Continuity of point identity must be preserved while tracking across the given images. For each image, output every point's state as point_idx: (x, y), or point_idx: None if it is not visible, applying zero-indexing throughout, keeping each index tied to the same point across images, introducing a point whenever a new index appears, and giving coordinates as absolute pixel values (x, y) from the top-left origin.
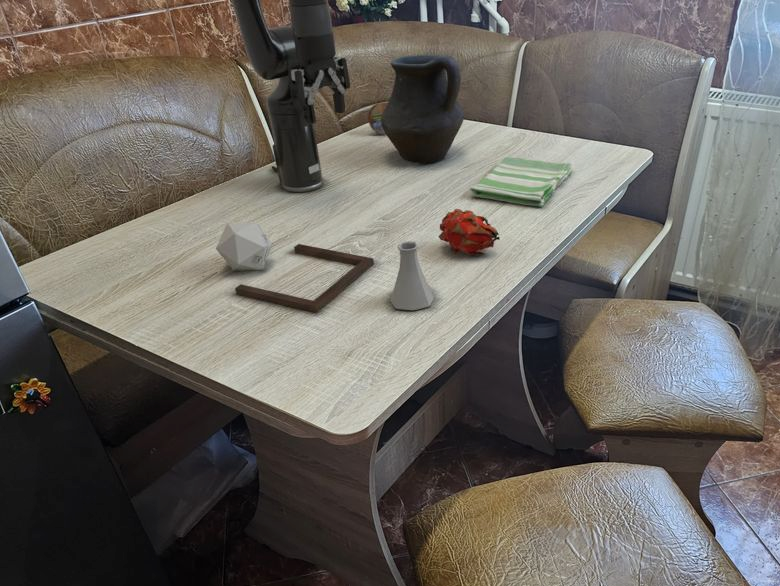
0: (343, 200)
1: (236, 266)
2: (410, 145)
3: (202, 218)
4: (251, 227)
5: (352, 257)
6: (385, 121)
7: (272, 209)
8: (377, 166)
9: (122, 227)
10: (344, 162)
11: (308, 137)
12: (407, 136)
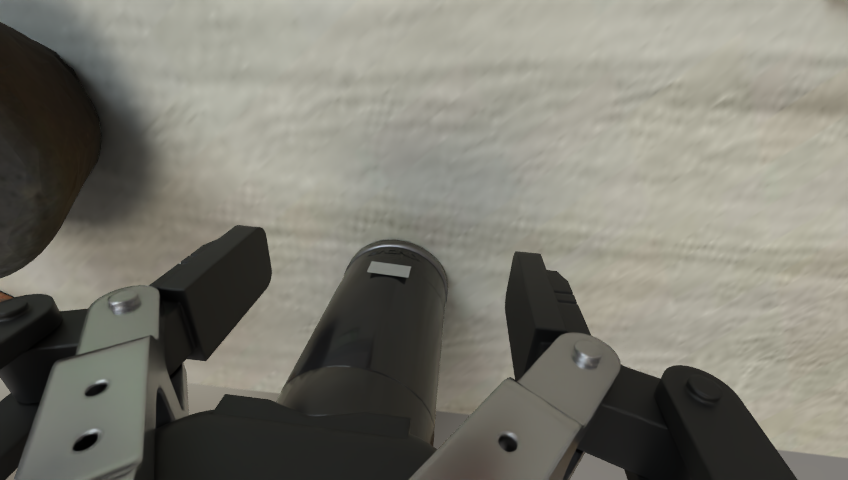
0: (427, 125)
1: None
2: (45, 91)
3: (652, 356)
4: None
5: None
6: (18, 222)
7: (556, 258)
8: (185, 196)
9: None
10: None
11: (366, 335)
12: (17, 93)
